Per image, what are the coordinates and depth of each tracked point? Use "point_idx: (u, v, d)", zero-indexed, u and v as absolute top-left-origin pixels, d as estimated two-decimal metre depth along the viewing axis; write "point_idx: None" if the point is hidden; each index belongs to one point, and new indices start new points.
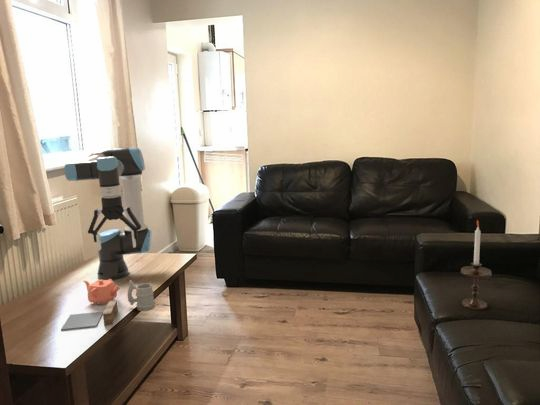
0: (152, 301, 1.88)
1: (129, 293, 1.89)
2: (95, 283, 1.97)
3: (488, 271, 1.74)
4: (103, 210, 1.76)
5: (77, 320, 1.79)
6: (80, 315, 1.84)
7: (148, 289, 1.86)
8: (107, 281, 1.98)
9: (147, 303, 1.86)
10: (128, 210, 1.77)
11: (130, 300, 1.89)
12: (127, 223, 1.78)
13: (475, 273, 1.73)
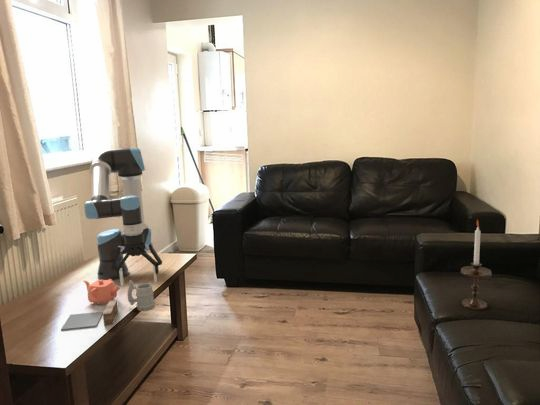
0: (152, 301, 1.88)
1: (129, 293, 1.89)
2: (95, 283, 1.97)
3: (488, 271, 1.74)
4: (126, 247, 1.83)
5: (77, 320, 1.79)
6: (80, 315, 1.84)
7: (148, 289, 1.86)
8: (107, 281, 1.98)
9: (147, 303, 1.86)
10: (150, 246, 1.84)
11: (130, 300, 1.89)
12: (149, 259, 1.85)
13: (475, 273, 1.73)
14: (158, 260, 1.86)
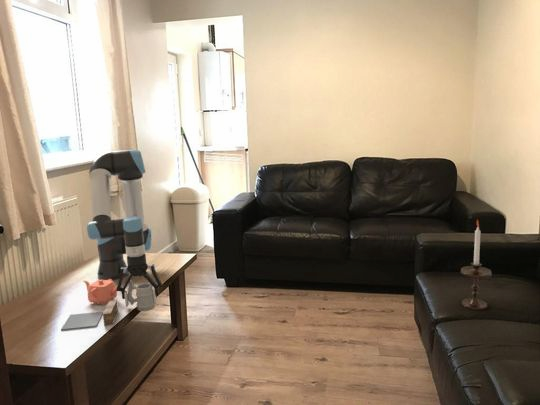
0: (152, 301, 1.88)
1: (129, 293, 1.89)
2: (95, 283, 1.97)
3: (488, 271, 1.74)
4: (128, 268, 1.85)
5: (77, 320, 1.79)
6: (80, 315, 1.84)
7: (148, 289, 1.86)
8: (107, 281, 1.98)
9: (147, 303, 1.86)
10: (152, 268, 1.86)
11: (130, 300, 1.89)
12: (149, 280, 1.87)
13: (475, 273, 1.73)
14: (158, 282, 1.88)
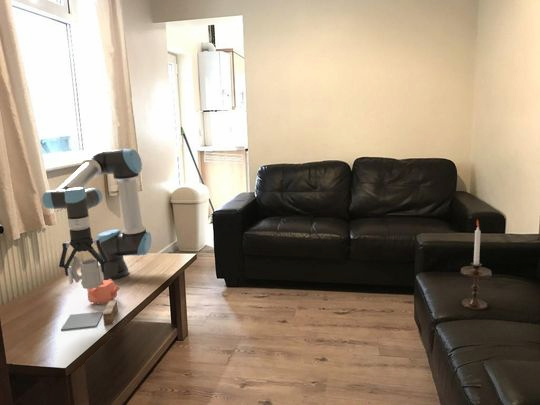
0: (98, 278, 1.76)
1: (73, 270, 1.77)
2: None
3: (488, 271, 1.74)
4: (71, 242, 1.73)
5: (77, 320, 1.79)
6: (80, 315, 1.84)
7: (93, 264, 1.74)
8: (107, 281, 1.98)
9: (92, 279, 1.74)
10: (97, 242, 1.75)
11: (75, 277, 1.77)
12: (95, 256, 1.75)
13: (475, 273, 1.73)
14: (104, 258, 1.76)
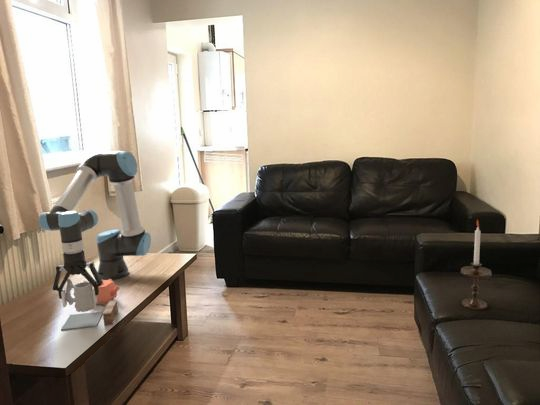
0: (91, 301, 1.76)
1: (67, 292, 1.77)
2: None
3: (488, 271, 1.74)
4: (65, 265, 1.73)
5: (77, 320, 1.79)
6: (80, 315, 1.84)
7: (86, 288, 1.74)
8: (107, 281, 1.98)
9: (85, 303, 1.74)
10: (91, 266, 1.75)
11: (68, 300, 1.78)
12: (88, 279, 1.76)
13: (475, 273, 1.73)
14: (98, 281, 1.76)
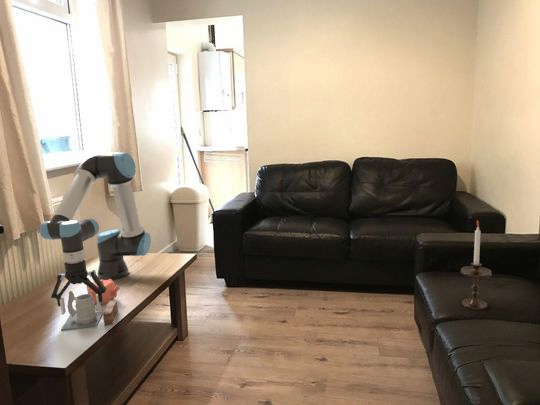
0: (92, 313, 1.77)
1: (69, 304, 1.79)
2: (95, 283, 1.97)
3: (488, 271, 1.74)
4: (66, 275, 1.74)
5: None
6: None
7: (87, 300, 1.75)
8: (107, 281, 1.98)
9: (86, 315, 1.75)
10: (92, 274, 1.75)
11: (70, 312, 1.79)
12: (91, 287, 1.76)
13: (475, 273, 1.73)
14: (101, 288, 1.77)
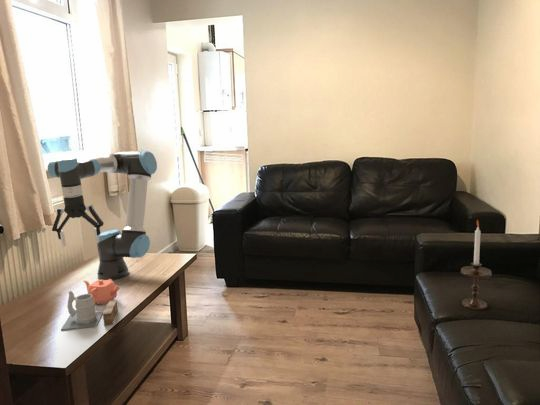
0: (92, 313, 1.77)
1: (69, 304, 1.79)
2: (95, 283, 1.97)
3: (488, 271, 1.74)
4: (66, 209, 1.85)
5: None
6: None
7: (87, 300, 1.75)
8: (107, 281, 1.98)
9: (86, 315, 1.75)
10: (90, 208, 1.87)
11: (70, 312, 1.79)
12: (89, 220, 1.88)
13: (475, 273, 1.73)
14: (99, 222, 1.89)
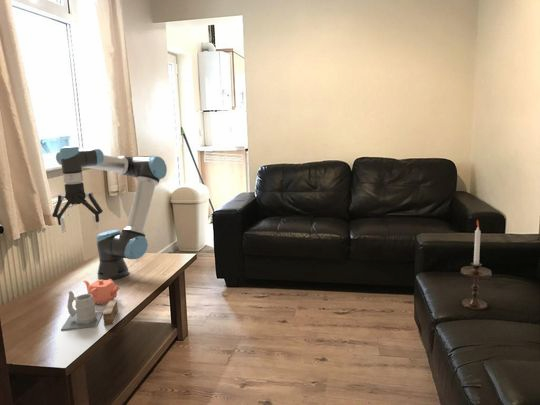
0: (92, 313, 1.77)
1: (69, 304, 1.79)
2: (95, 283, 1.97)
3: (488, 271, 1.74)
4: (66, 195, 1.91)
5: None
6: None
7: (87, 300, 1.75)
8: (107, 281, 1.98)
9: (86, 315, 1.75)
10: (89, 195, 1.92)
11: (70, 312, 1.79)
12: (89, 207, 1.93)
13: (475, 273, 1.73)
14: (98, 209, 1.94)
